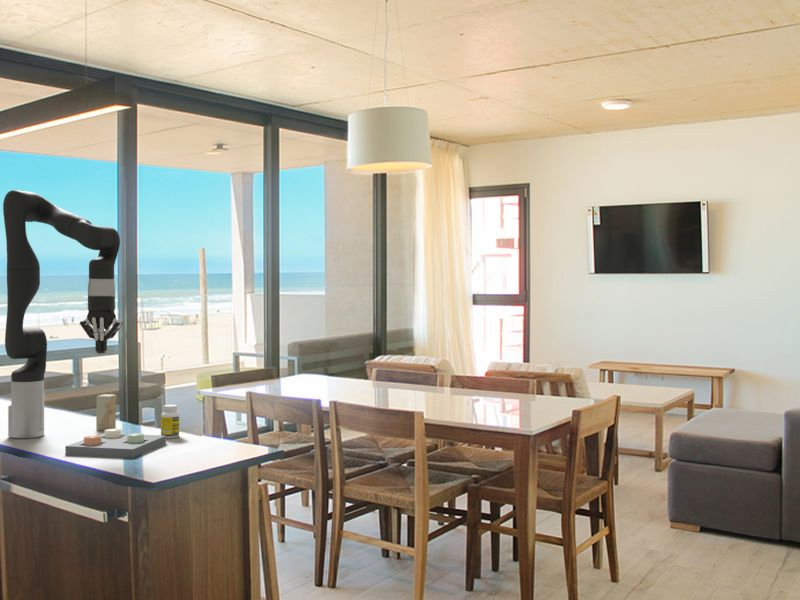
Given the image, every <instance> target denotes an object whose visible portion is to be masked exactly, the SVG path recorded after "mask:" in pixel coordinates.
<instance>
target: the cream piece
mask: <svg viewBox="0 0 800 600" xmlns="http://www.w3.org/2000/svg"><path fill="white" fill-rule="evenodd" d="M104 433H105V438H114V439H117V438H120V437H121V434H122V428H114V429H107V430H104Z"/></svg>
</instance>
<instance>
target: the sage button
mask: <svg viewBox="0 0 800 600" xmlns="http://www.w3.org/2000/svg"><path fill="white" fill-rule="evenodd" d="M127 434H128V435H127V443H134V444H140V443H143V442H144V435H145V434H144V433H142V432H141V433H139V432H136V433H127Z"/></svg>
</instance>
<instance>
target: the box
mask: <svg viewBox="0 0 800 600" xmlns="http://www.w3.org/2000/svg"><path fill="white" fill-rule="evenodd" d="M116 401H117V395H116V394H110V393H109V394H107V393H106V394H100V395H97V396H96V412H95V413H96V415H95V416H96V417H95V418H96V420H95V421H96V423H95V428H96V431H105V430H107V429H117V428H116V425H117V423H116V420H117V418H116V417H117V416H116V415H117V409H116V408H117V402H116Z"/></svg>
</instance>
